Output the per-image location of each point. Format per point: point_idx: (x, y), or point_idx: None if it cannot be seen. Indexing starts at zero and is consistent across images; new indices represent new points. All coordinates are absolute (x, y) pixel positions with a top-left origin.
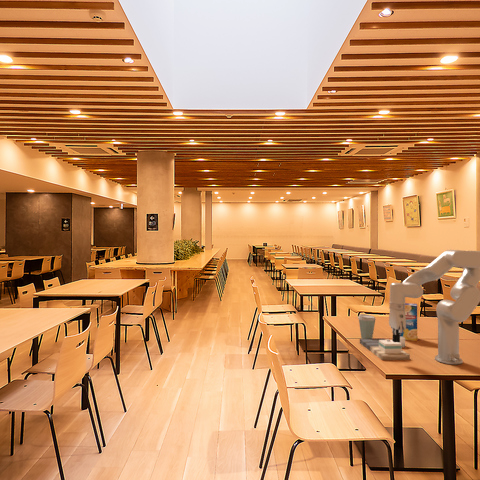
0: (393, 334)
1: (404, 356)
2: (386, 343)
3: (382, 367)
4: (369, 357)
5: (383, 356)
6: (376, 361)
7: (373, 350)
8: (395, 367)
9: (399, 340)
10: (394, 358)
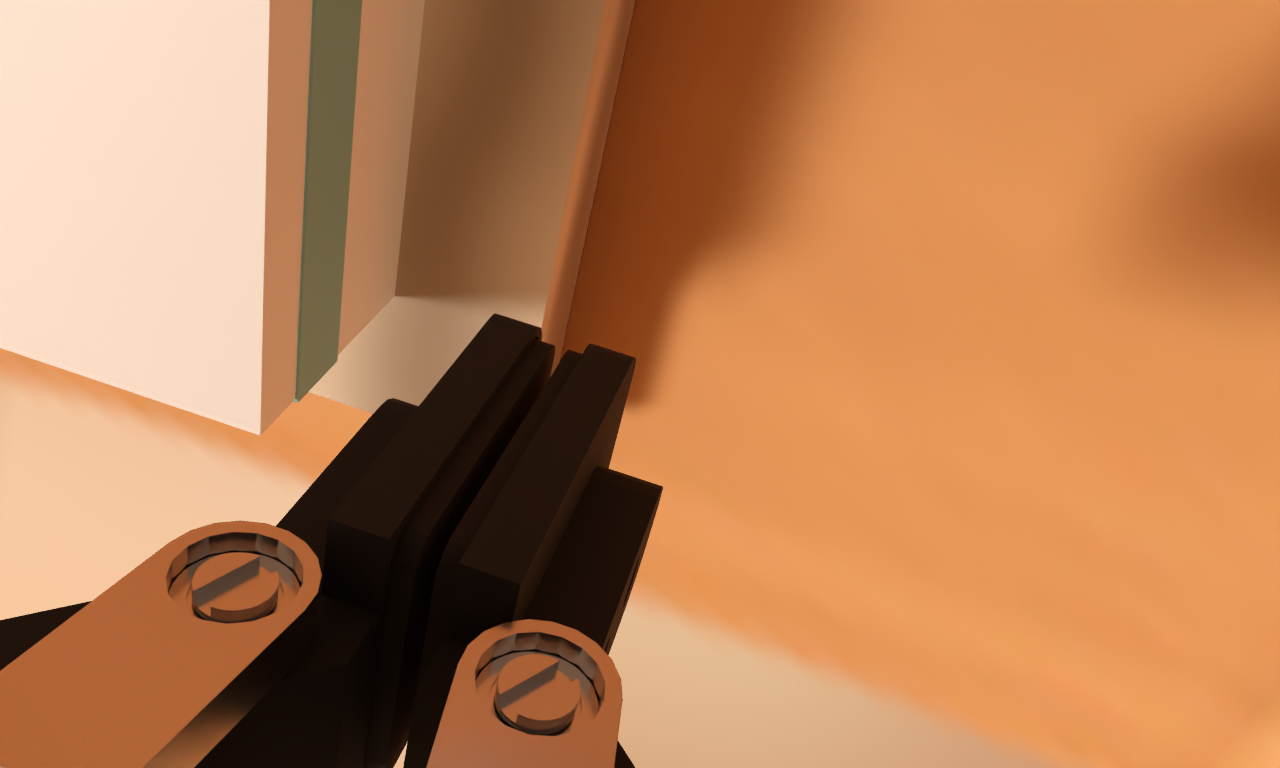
0: (370, 764)
1: None
2: (193, 347)
3: (939, 678)
4: None
5: None
6: None
7: None
8: (1067, 484)
9: (613, 404)
10: (600, 135)
